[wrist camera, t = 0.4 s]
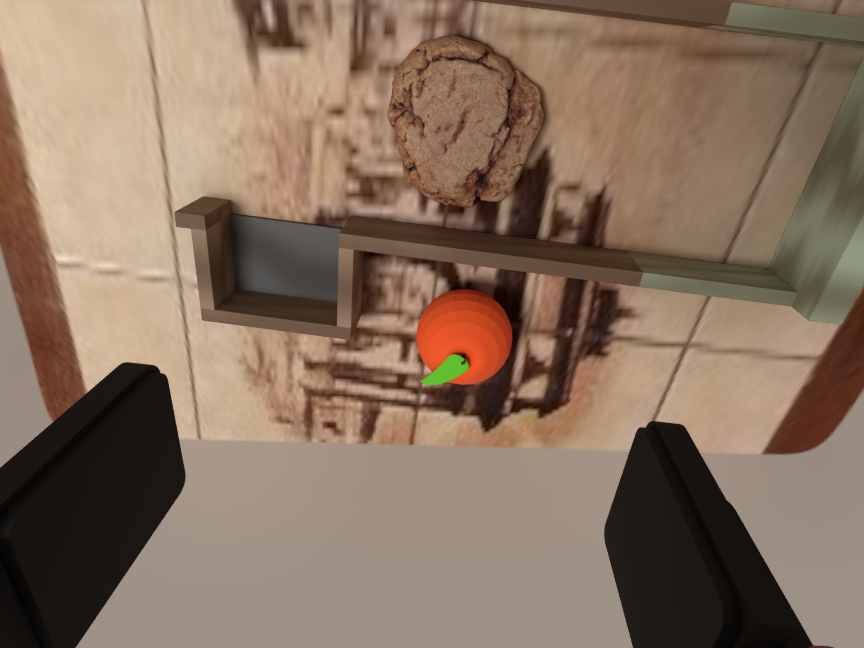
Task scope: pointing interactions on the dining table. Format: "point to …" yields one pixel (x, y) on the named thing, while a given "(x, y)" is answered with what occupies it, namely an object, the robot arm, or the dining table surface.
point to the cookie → (463, 121)
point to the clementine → (463, 337)
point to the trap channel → (344, 247)
